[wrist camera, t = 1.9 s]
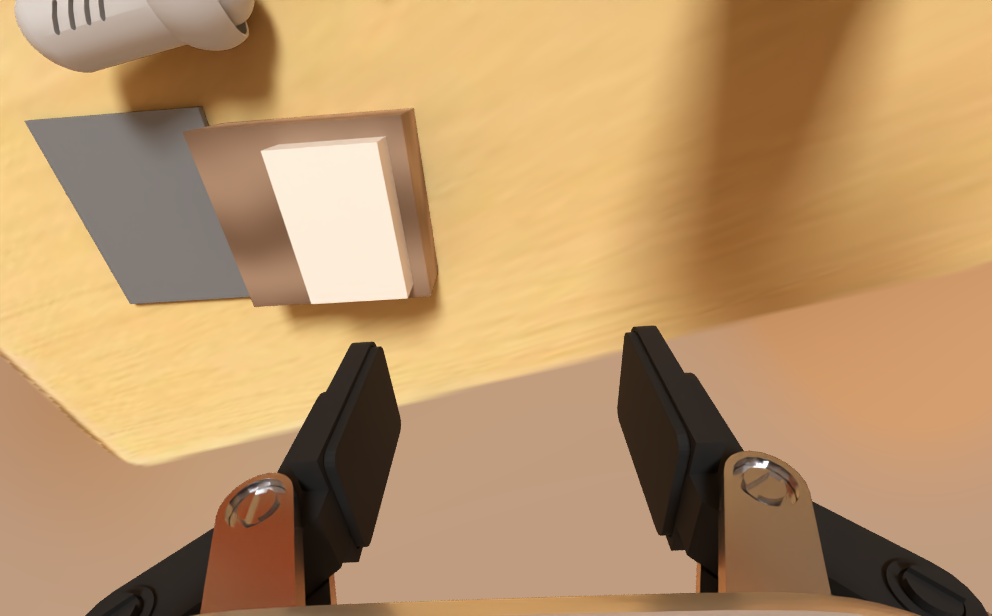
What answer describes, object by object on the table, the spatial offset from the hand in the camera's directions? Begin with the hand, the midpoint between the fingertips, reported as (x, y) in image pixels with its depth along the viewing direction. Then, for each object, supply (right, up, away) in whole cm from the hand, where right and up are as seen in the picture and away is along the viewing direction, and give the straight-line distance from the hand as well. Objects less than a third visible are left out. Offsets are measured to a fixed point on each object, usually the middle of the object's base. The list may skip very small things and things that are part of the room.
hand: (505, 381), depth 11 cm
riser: (-11, +9, +17) cm, 23 cm away
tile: (-9, +7, +14) cm, 18 cm away
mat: (-23, +8, +18) cm, 31 cm away
